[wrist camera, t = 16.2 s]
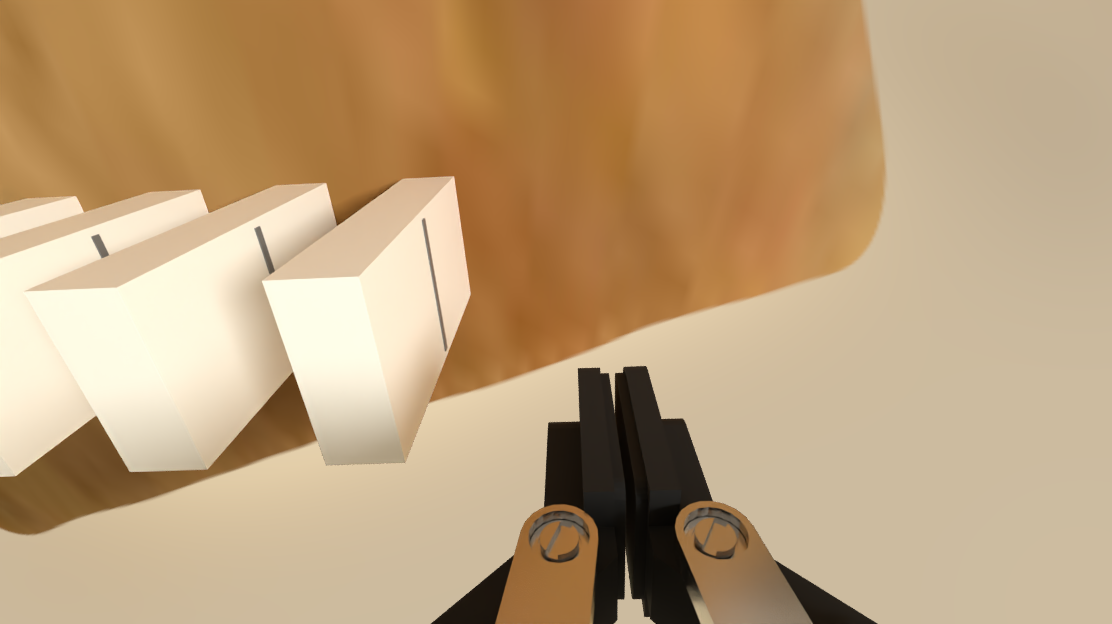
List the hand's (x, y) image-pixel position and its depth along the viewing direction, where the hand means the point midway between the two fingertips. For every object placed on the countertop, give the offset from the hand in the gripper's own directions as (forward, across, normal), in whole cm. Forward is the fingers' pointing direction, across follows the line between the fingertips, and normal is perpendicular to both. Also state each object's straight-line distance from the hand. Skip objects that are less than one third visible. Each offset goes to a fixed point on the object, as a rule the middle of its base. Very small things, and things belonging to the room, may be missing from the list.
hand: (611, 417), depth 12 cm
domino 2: (+13, +13, -1) cm, 19 cm away
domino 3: (+13, +7, -1) cm, 15 cm away
